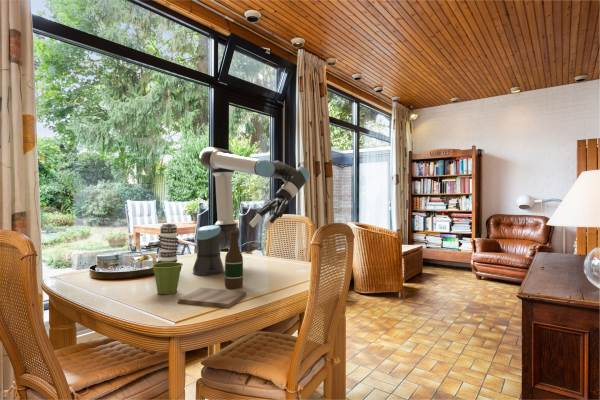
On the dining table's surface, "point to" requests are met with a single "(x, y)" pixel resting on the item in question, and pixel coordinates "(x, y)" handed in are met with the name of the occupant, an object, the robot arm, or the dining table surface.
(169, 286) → the plant pot
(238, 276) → the beer bottle
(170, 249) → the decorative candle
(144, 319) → the dining table surface
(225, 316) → the dining table surface
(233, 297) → the walnut board
